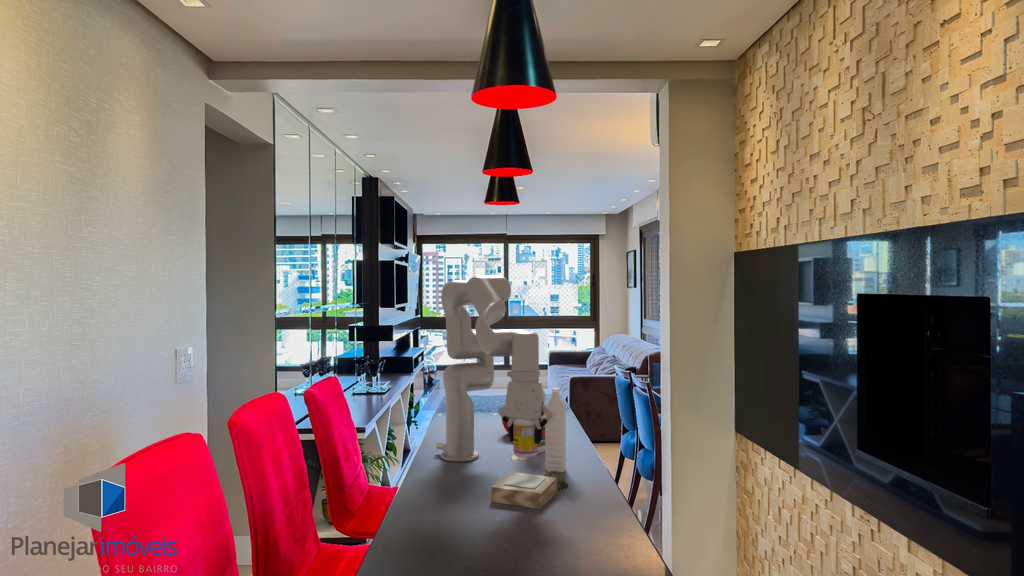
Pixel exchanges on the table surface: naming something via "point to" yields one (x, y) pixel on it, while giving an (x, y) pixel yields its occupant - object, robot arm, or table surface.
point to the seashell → (558, 479)
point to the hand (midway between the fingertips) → (525, 440)
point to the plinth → (524, 490)
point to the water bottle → (555, 434)
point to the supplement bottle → (524, 438)
